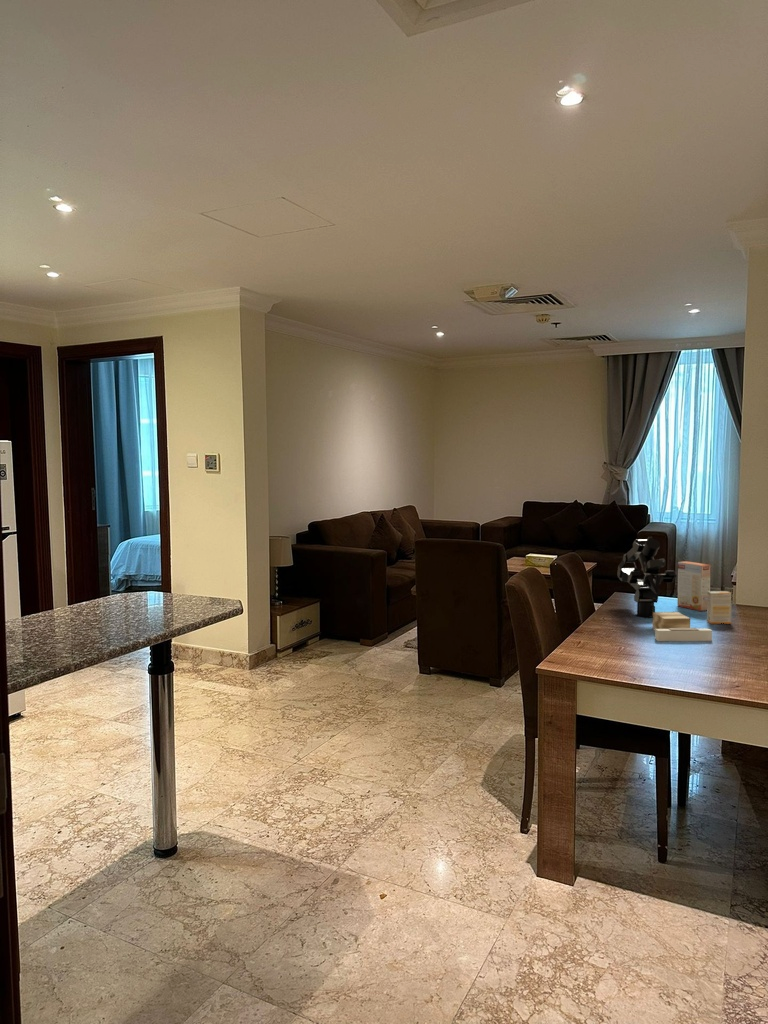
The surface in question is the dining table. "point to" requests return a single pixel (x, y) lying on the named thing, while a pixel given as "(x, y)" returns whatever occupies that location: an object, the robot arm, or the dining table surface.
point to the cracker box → (693, 585)
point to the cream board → (683, 634)
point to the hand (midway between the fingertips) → (656, 593)
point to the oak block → (670, 620)
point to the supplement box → (719, 607)
